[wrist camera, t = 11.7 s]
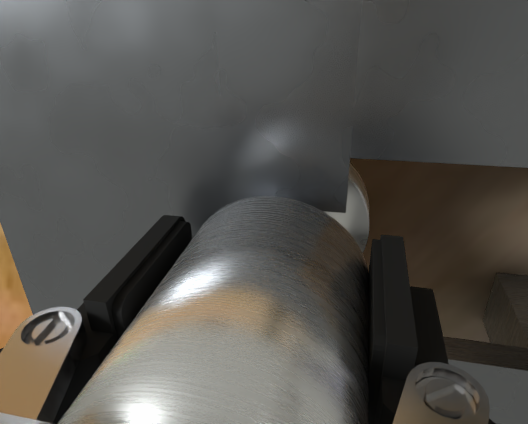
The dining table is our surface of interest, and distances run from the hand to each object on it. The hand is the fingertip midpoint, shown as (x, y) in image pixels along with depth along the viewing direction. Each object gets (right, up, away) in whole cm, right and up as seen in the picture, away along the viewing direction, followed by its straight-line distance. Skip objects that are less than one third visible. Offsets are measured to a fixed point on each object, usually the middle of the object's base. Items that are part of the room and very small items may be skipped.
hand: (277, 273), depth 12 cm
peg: (+1, +2, +4) cm, 4 cm away
